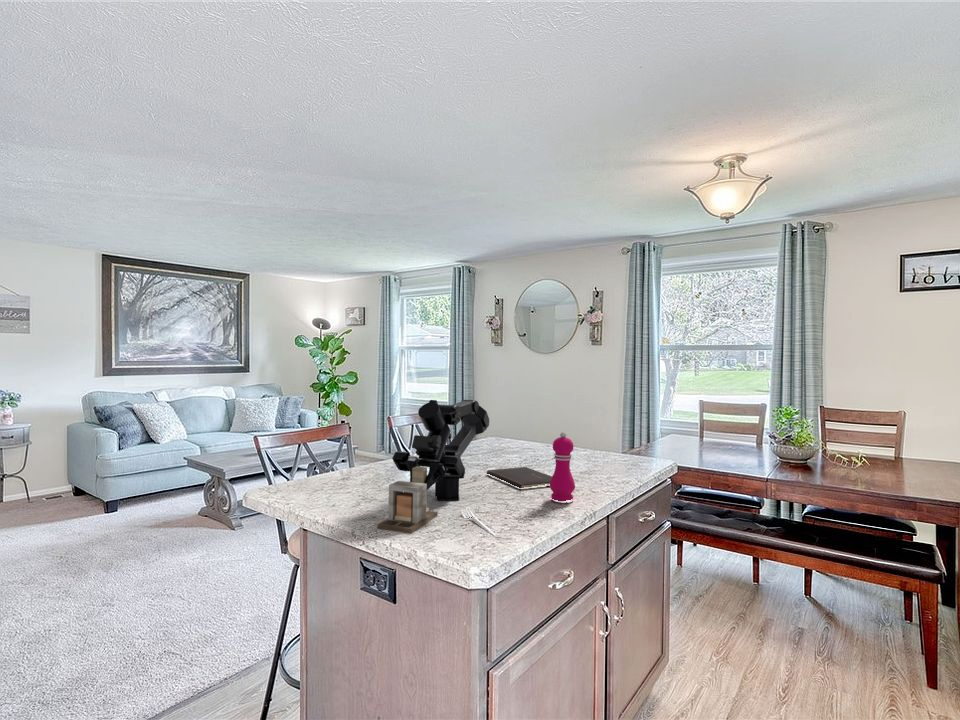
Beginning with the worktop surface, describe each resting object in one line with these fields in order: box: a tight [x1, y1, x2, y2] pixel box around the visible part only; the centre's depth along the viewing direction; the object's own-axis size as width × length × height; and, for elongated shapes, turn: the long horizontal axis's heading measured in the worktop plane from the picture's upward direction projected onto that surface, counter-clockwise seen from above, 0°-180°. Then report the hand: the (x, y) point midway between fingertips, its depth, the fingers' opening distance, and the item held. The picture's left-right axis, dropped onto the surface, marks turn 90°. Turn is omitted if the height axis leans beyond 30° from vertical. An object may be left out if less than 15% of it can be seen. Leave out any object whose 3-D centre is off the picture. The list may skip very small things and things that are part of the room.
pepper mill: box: [549, 431, 576, 501], centre depth 149 cm, size 7×7×20 cm
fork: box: [460, 506, 497, 536], centre depth 126 cm, size 3×20×2 cm, turn 24°
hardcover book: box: [486, 466, 553, 488], centre depth 174 cm, size 16×23×2 cm
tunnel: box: [376, 480, 439, 534], centre depth 127 cm, size 14×9×9 cm, turn 160°
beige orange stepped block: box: [395, 466, 430, 522], centre depth 129 cm, size 10×4×11 cm, turn 160°
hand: (416, 491), depth 131 cm, fingers closed on beige orange stepped block, 3 cm apart
